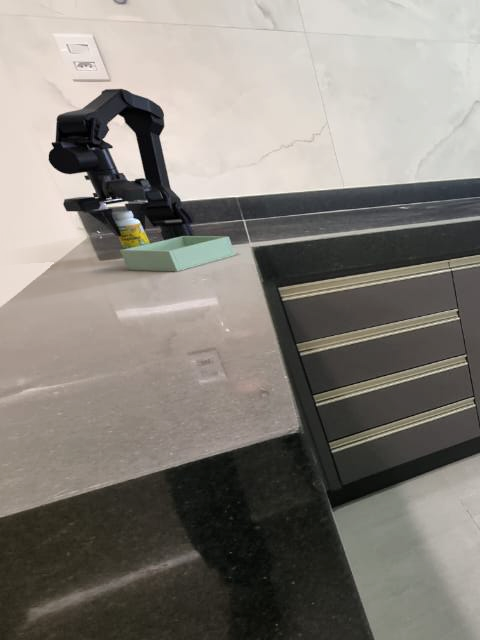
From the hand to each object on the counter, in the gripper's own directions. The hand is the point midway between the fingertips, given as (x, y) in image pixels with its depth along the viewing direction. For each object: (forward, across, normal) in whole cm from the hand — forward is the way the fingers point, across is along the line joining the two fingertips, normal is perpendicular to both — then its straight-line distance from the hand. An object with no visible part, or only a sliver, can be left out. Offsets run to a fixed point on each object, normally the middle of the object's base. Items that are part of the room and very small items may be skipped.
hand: (131, 233), depth 136 cm
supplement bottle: (+4, 0, 0) cm, 4 cm away
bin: (+7, 0, -14) cm, 16 cm away
